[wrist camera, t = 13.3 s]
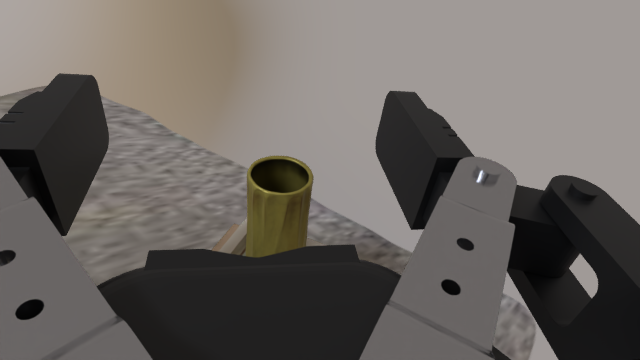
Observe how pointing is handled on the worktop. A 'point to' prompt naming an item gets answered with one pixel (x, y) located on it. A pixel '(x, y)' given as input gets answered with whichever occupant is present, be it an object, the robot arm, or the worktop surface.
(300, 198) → the vase
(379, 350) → the robot arm
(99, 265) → the worktop surface
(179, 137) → the worktop surface
